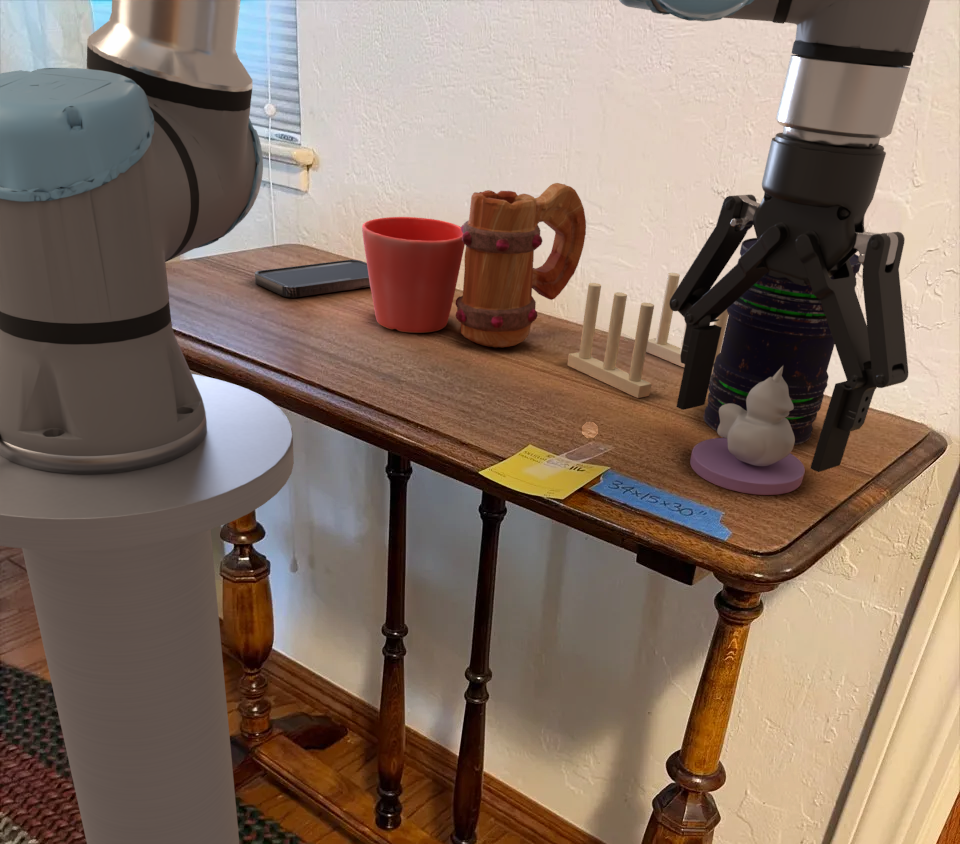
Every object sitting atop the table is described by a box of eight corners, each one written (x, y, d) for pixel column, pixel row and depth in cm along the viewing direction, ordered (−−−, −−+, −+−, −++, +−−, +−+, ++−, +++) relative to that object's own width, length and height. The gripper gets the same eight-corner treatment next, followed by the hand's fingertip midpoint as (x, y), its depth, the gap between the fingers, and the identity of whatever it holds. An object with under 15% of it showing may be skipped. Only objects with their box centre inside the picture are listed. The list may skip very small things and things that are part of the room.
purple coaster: (753, 504, 73) (756, 493, 72) (667, 460, 78) (669, 449, 78) (824, 480, 77) (827, 469, 77) (738, 440, 83) (740, 429, 82)
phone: (250, 271, 111) (356, 258, 120) (251, 281, 112) (356, 267, 120) (288, 288, 106) (394, 273, 115) (288, 299, 107) (394, 283, 116)
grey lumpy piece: (768, 482, 74) (796, 381, 69) (694, 454, 77) (716, 356, 73) (799, 464, 77) (827, 366, 73) (727, 438, 81) (750, 343, 76)
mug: (475, 358, 96) (487, 195, 87) (434, 333, 101) (442, 178, 93) (590, 343, 103) (612, 191, 94) (546, 321, 108) (564, 176, 100)
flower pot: (381, 341, 98) (383, 240, 92) (348, 310, 106) (348, 215, 100) (476, 335, 102) (483, 239, 96) (437, 306, 110) (442, 215, 104)
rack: (637, 398, 90) (653, 309, 85) (567, 365, 96) (578, 281, 91) (725, 378, 97) (744, 295, 92) (654, 349, 103) (668, 269, 98)
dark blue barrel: (681, 419, 86) (726, 204, 76) (736, 396, 92) (784, 194, 82) (780, 456, 81) (843, 230, 71) (831, 429, 87) (896, 217, 77)
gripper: (1038, 168, 58) (919, 486, 70) (724, 109, 74) (671, 377, 86) (975, 171, 54) (860, 508, 66) (657, 109, 70) (611, 390, 82)
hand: (753, 435), depth 76 cm, fingers open, 13 cm apart
